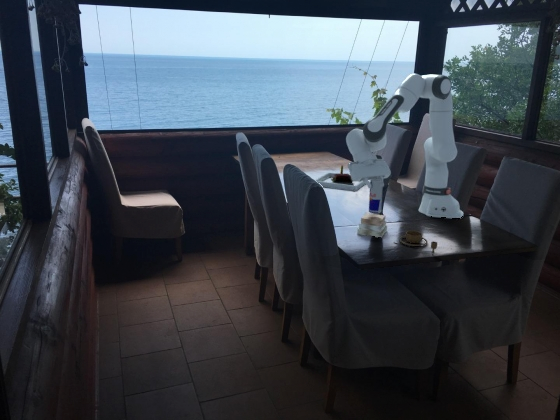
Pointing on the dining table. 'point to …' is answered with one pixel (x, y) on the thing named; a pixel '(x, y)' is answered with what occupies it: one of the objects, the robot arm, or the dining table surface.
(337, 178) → the fire station toy set
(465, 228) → the dining table surface
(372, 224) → the stacked square slabs
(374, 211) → the beverage can
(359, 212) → the dining table surface
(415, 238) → the place setting
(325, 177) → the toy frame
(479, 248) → the dining table surface
